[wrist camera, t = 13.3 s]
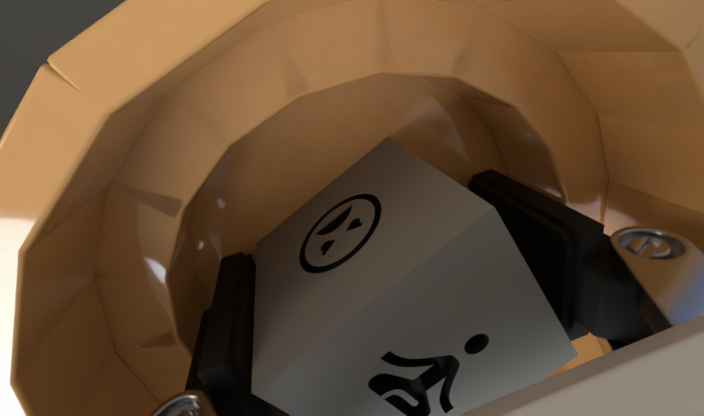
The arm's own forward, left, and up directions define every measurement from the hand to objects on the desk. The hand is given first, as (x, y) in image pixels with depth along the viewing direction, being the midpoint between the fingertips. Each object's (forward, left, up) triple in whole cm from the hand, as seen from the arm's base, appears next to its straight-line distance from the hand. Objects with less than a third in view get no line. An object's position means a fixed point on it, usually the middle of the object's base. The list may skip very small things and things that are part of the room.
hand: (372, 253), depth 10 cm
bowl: (0, 0, -1) cm, 1 cm away
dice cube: (0, 0, -1) cm, 1 cm away
